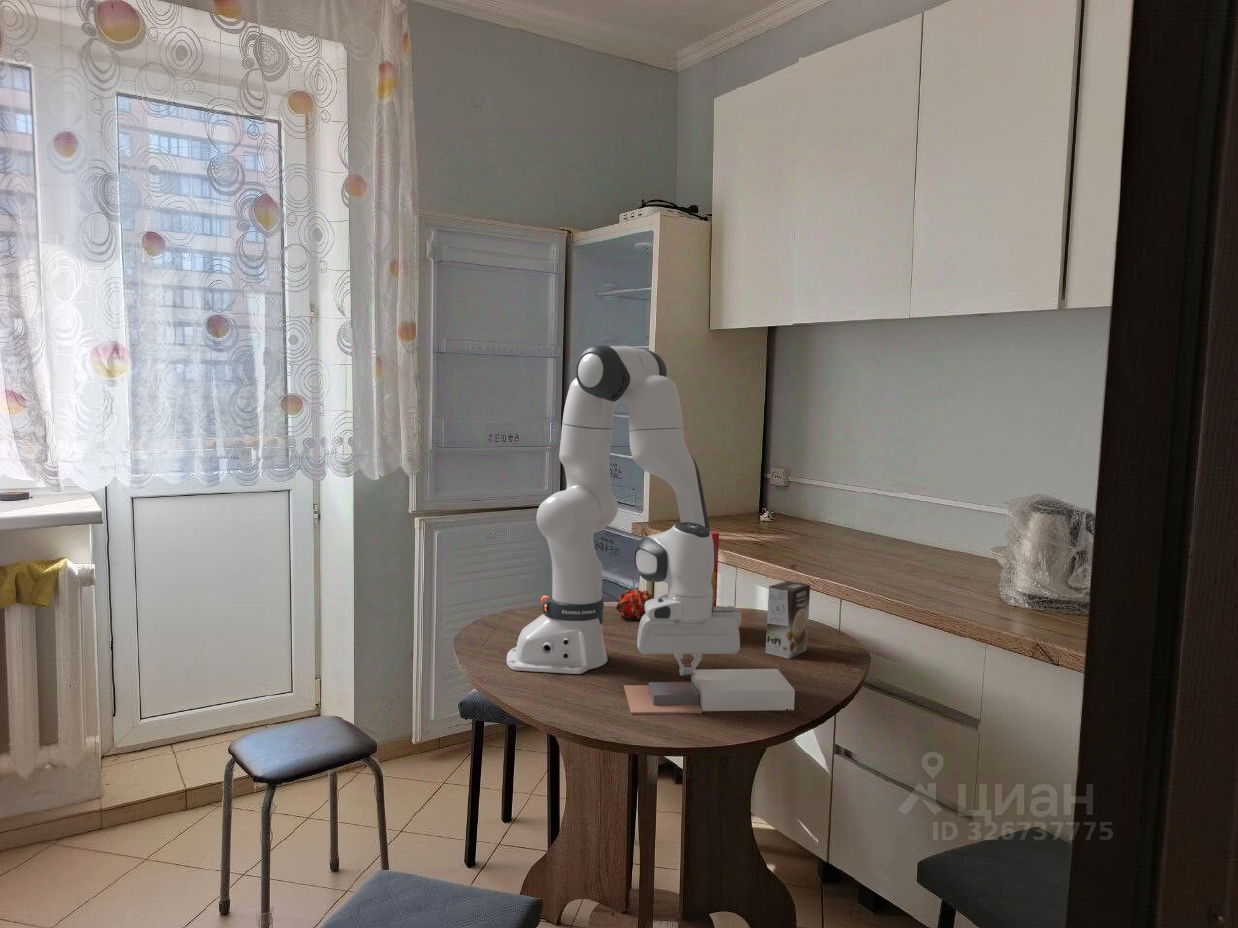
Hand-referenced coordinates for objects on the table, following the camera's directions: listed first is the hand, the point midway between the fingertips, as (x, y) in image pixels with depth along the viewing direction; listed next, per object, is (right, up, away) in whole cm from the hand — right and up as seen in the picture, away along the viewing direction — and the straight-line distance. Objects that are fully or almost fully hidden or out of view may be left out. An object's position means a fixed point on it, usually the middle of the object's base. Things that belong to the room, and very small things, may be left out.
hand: (687, 674), depth 165 cm
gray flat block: (-3, -5, 0) cm, 5 cm away
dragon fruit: (-10, 0, +58) cm, 58 cm away
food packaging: (+5, -1, +45) cm, 45 cm away
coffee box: (+26, -3, +32) cm, 41 cm away
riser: (+11, -5, +2) cm, 12 cm away
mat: (-5, -5, 0) cm, 7 cm away
